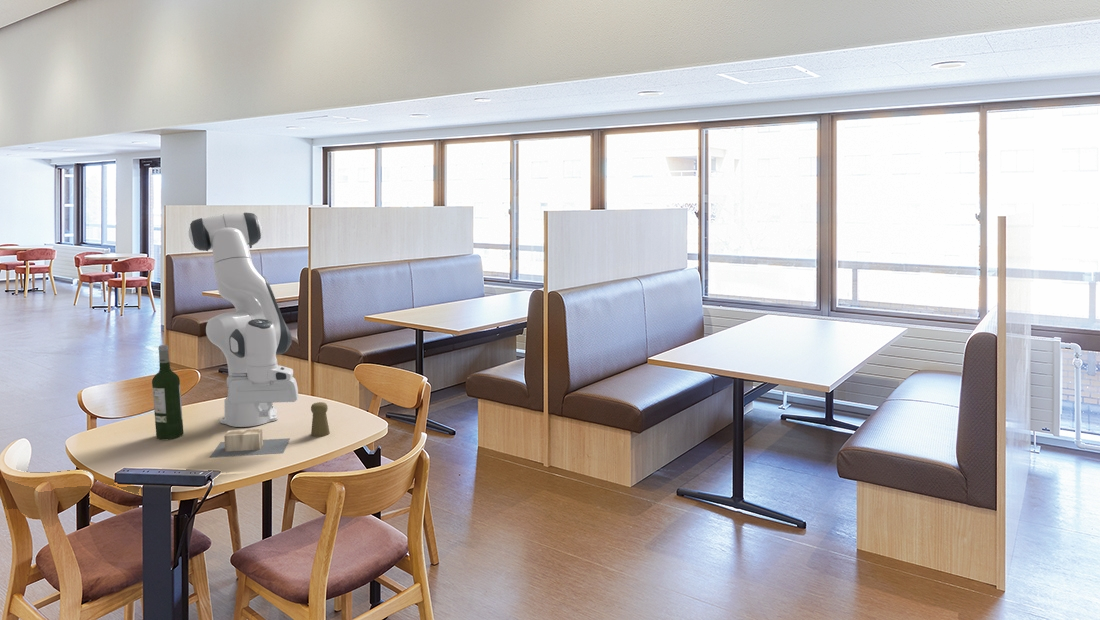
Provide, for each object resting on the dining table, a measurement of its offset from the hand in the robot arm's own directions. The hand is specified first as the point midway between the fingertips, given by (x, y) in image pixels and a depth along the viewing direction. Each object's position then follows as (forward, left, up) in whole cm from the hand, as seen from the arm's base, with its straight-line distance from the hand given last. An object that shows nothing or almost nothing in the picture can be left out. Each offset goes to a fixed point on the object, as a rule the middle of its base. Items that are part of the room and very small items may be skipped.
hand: (264, 416), depth 229 cm
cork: (-9, +15, -11) cm, 21 cm away
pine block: (+1, -1, -7) cm, 7 cm away
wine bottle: (-17, -33, -11) cm, 39 cm away
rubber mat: (+1, -4, -10) cm, 11 cm away
